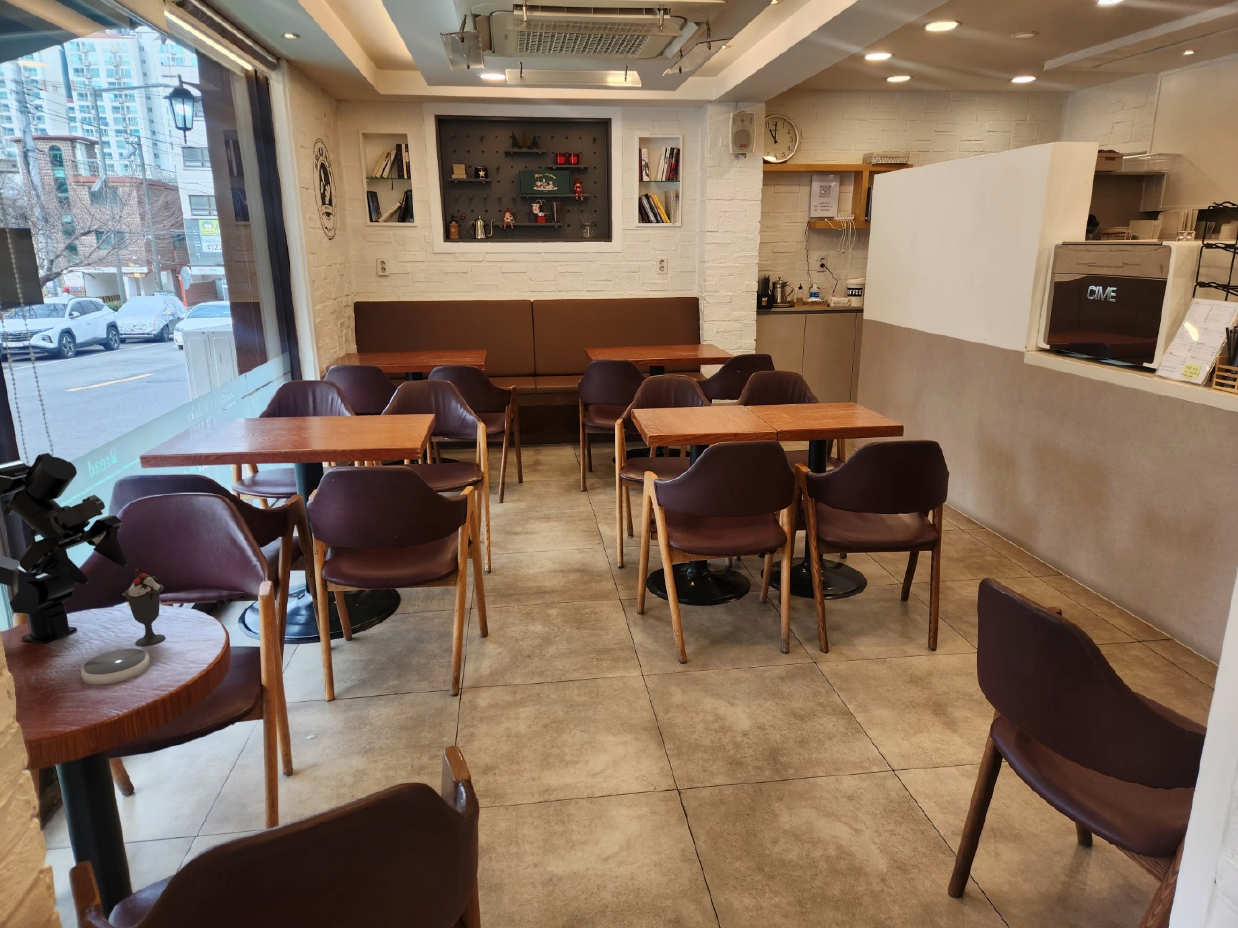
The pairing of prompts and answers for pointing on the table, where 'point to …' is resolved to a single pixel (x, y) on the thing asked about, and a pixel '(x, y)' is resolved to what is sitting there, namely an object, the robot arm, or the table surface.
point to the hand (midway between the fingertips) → (107, 573)
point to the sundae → (145, 605)
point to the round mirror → (115, 666)
